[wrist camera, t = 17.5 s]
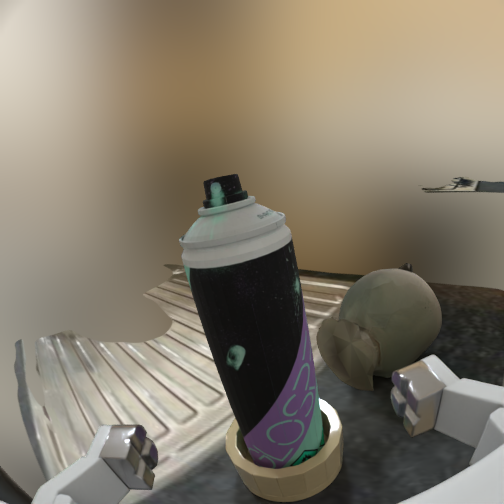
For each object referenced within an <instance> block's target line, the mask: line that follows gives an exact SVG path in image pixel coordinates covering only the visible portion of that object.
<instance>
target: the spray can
mask: <svg viewBox="0 0 504 504" xmlns="http://www.w3.org/2000/svg"><path fill="white" fill-rule="evenodd" d="M204 188H205V194H206V200H204V201H203V204H204V207H202V208H200V209H199V210H198V213H199V215H201V217H200V218H198V220H196V222H195V223H194V224H193V225H192V226H191V228H190V229H189V230H188V232H187V233H186V234H185V235H183V236H182V237H181V238H180V239H179V242H180V246H181V247H183V248H184V250H183V253H182V260H183V264H184V268H185V271H186V275H187V278H188V281H189V285H190V288H191V291H192V295H193V298H194V301H195V304H196V307H197V311H198V314H199V317H200V320H201V323H202V326H203V329H204V332H205V335H206V338H207V341H208V344H209V347H210V350H211V353H212V356H213V359H214V361H215V364H216V367H217V370H218V373H219V375H220V378H221V381H222V384H223V386H224V389H225V392H226V395H227V397H228V400H229V402H230V405H231V408H232V410H233V413H234V415H235V418H236V421H237V423H238V426H239V428H240V431H241V433H242V436H243V438H244V440H245V443H246V445H247V448H248V450H249V453H250V455H251V457H252V460H253V462H254V464H255V465H257V466H259V467H265V468H273V469H280V468H286V467H291V466H296V465H299V464H301V463H303V462H305V461H307V460H308V459H310V458H312V457H314V456H315V455H317V454H318V452H319V451H320V450H321V449H322V448H323V446H324V445H325V441H324V433H323V425H322V417H321V410H320V402H319V395H318V388H317V381H316V374H315V368H314V361H313V355H312V348H311V342H310V336H309V330H308V324H307V318H306V312H305V306H304V300H303V295H302V289H301V283H300V278H299V273H298V267H297V262H296V257H295V252H294V246H293V242H292V236H291V231H290V229H289V228H288V227H287V226H286V225H285V224H284V223H285V222H286V217H285V214H284V213H280V212H275V211H273V210H271V209H268V208H266V207H264V206H262V205H259V204H255V203H254V202H255V197H254V196H248V195H247V191H242V188H241V184H240V181H239V177H238V175H237V174H233V175H228V176H222V177H217V178H214V179H209V180H207V181H204Z"/></svg>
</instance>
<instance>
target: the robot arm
mask: <svg viewBox="0 0 504 504" xmlns="http://www.w3.org/2000/svg"><path fill="white" fill-rule="evenodd" d="M392 382H393V384H394V385H395V386H394V387H393V389H392V390H391V401H392V406H393V408H394V410H395V412H396V414H397V416H399V417H402V418H404V423H403V425H404V427H405V428H406V430H407V431H408V433H409V435H410V436H411V438H413V437H415V436H417V435H420V434H422V433H424V432H426V431H429V430H431V429H433V428H434V429H435V430H437V431H440V432H442V433H444V434H446V435H448V436H450V437H452V438H455V439H457V440H459V441H461V442H464V443H466V444H468V445H470V446H473V447H475V448H476V449H475V451H474V454H473V456H472V458H471V460H470V463H469V464H470V465H471V466H470V467H468V468H467V469H465V470H463V471H462V472H460V473H458V474H456V475H455V476H453V477H451V478H449V479H448V480H446V481H444V482H442V483H440V484H438V485H436V486H434V487H432V488H430V489H428V490H426V491H424V492H422V493H420V494H418V495H416V496H414V497H411V498H409V499H407V500H405V501H402V502H400V503H398V504H504V387H501V386H497V385H492V384H487V383H483V382H478V381H474V380H470V379H466V378H463V379H461V380H460V379H459V378H458V377H457V376H456V375H455V374H454V373H453V372H452V371H451V370H450V369H449V368H448V367H447V366H446V365H445V364H444V363H443V362H442V361H441V360H440V359H439V358H438V357H437V356H436V355H430V356H428V357H426V358H424V359H422V360H420V361H417V362H415V363H412V364H410V365H408V366H405V367H403V368H400V369H398V370H395V371H393V373H392ZM146 433H147V432H146V430H145V429H144V427H143V426H142V425H101V426H100V427H99V428H98V430H97V433H96V435H95V437H94V439H93V441H92V444H91V446H90V448H89V450H88V453H87V455H86V457H81V458H80V459H78V460H77V461H76V462H74V463H73V464H71V465H70V466H69V467H67V468H66V469H65V470H63V471H62V472H60V473H59V474H58V475H56V476H55V477H53V478H52V479H51V480H49V481H48V482H46V483H45V484H44V485H42V486H41V487H39V489H38V491H37V493H36V495H35V498H34V500H33V502H32V504H118V503H119V502H120V501H121V500H122V499H123V498H124V497H125V496H126V494H127V493H128V492H129V491H130V490H129V489H137V490H152V486H153V482H154V477H155V474H154V473H153V471H152V470H153V469H154V468H155V467H156V466H157V463H158V451H157V448H156V446H155V444H154V442H153V441H152V440H150V439H149V438H147V437H146ZM0 504H7V503H5V502H2V501H0Z"/></svg>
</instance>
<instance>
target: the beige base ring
mask: <svg viewBox="0 0 504 504" xmlns="http://www.w3.org/2000/svg"><path fill="white" fill-rule="evenodd" d="M319 402H320V410H321V417H322V425H323V433H324V441H325V445H324V446H323V448H322V449H321V450H320V451H319V452H318V454H317V455H315V456H314V457H312V458H310V459H308V460H307V461H305V462H303V463H301V464H299V465H296V466H291V467H286V468H280V469H273V468H265V467H259V466H257V465H255V464H254V462H253V460H252V457H251V455H250V453H249V450H248V448H247V445H246V443H245V440H244V438H243V436H242V433H241V431H240V428H239V426H238V423H237V421H236V418H235V419H234V421H233V422H232V424H231V426H230V428H229V429H228V431H227V433H226V451H227V453H228V455H229V457H230V459H231V461H232V463H233V465H234V467H235V469H236V471H237V473H238V474H239V476H240V478H241V480H242V481H243V483H244V485H245V486H246V487H247V488H248V489H249V490H250V491H251V492H252V493H254V494H255V495H257V496H259V497H261V498H264V499H267V500H271V501H276V502H292V501H299V500H302V499H306V498H309V497H311V496H313V495H315V494H317V493H319V492H321V491H322V490H324V489H325V488H326V487H327V486H329V485H330V484H331V483H332V481H333V480H334V479H335V478H336V476H337V475H338V473H339V471H340V469H341V466H342V461H343V449H344V448H343V428H342V423H341V421H340V418H339V416H338V413H337V411H336V410H335V409H334V408H333V407H332V406H330V405H329V404H328V403H327V402H325V401H324V400H321V399H319Z"/></svg>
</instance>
